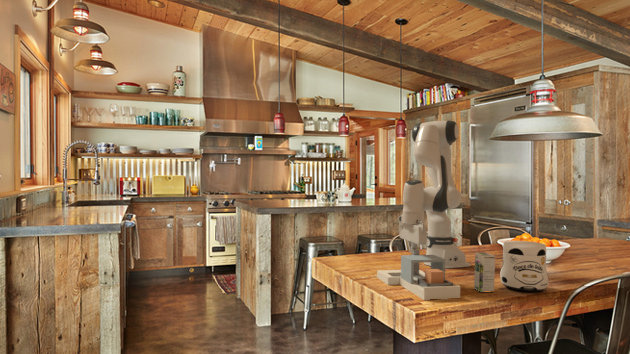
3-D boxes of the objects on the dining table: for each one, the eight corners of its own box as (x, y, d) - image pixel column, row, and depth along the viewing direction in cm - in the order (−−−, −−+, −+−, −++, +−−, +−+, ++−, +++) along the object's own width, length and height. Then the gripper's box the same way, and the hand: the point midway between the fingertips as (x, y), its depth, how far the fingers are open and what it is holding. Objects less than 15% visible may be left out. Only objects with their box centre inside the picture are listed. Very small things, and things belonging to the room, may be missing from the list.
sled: (424, 274, 184) (425, 248, 184) (453, 288, 161) (453, 259, 161) (402, 274, 182) (402, 248, 182) (427, 289, 159) (428, 260, 159)
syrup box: (473, 289, 174) (474, 252, 174) (487, 289, 174) (488, 252, 174) (480, 293, 168) (480, 254, 168) (495, 292, 169) (495, 255, 169)
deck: (418, 276, 195) (418, 265, 195) (460, 298, 160) (460, 286, 160) (377, 277, 191) (377, 266, 191) (410, 300, 156) (411, 288, 156)
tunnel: (432, 276, 181) (433, 254, 181) (444, 282, 171) (445, 259, 171) (400, 277, 178) (401, 255, 178) (410, 283, 168) (411, 260, 168)
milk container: (527, 296, 164) (528, 248, 164) (490, 285, 180) (491, 241, 180) (558, 292, 172) (559, 245, 172) (520, 281, 187) (521, 239, 187)
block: (437, 284, 168) (437, 268, 168) (443, 288, 163) (443, 271, 163) (424, 285, 167) (425, 269, 167) (430, 288, 162) (431, 272, 162)
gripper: (431, 222, 174) (430, 257, 174) (410, 216, 194) (409, 248, 194) (416, 222, 173) (415, 257, 173) (396, 216, 193) (396, 248, 193)
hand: (412, 252), depth 184 cm, fingers closed
